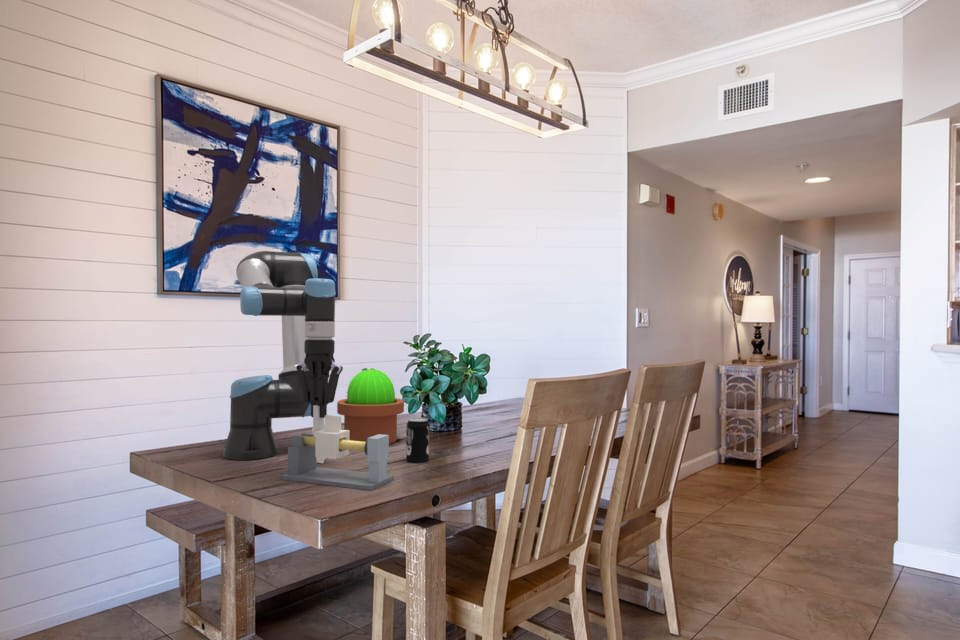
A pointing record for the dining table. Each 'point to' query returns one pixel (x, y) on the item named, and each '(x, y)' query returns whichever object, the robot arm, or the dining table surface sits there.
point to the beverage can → (417, 440)
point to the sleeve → (331, 439)
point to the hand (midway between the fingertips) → (318, 430)
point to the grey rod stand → (306, 470)
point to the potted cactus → (370, 406)
